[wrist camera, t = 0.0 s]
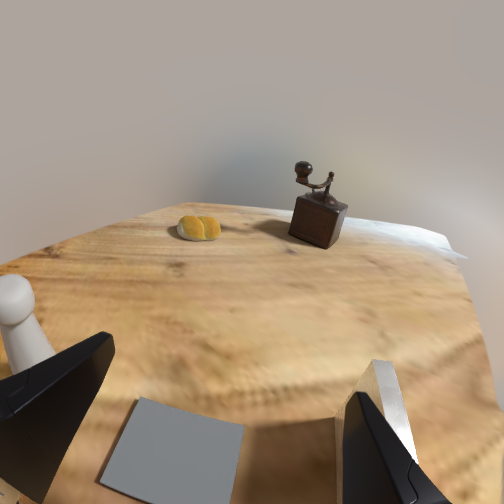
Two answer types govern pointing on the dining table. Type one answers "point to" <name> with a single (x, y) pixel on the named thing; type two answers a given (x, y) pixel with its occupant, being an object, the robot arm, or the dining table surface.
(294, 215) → the manual coffee grinder
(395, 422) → the breaker panel
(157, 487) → the slate pad
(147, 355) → the dining table surface
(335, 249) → the dining table surface
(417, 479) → the robot arm
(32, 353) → the salt shaker
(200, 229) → the bread roll
